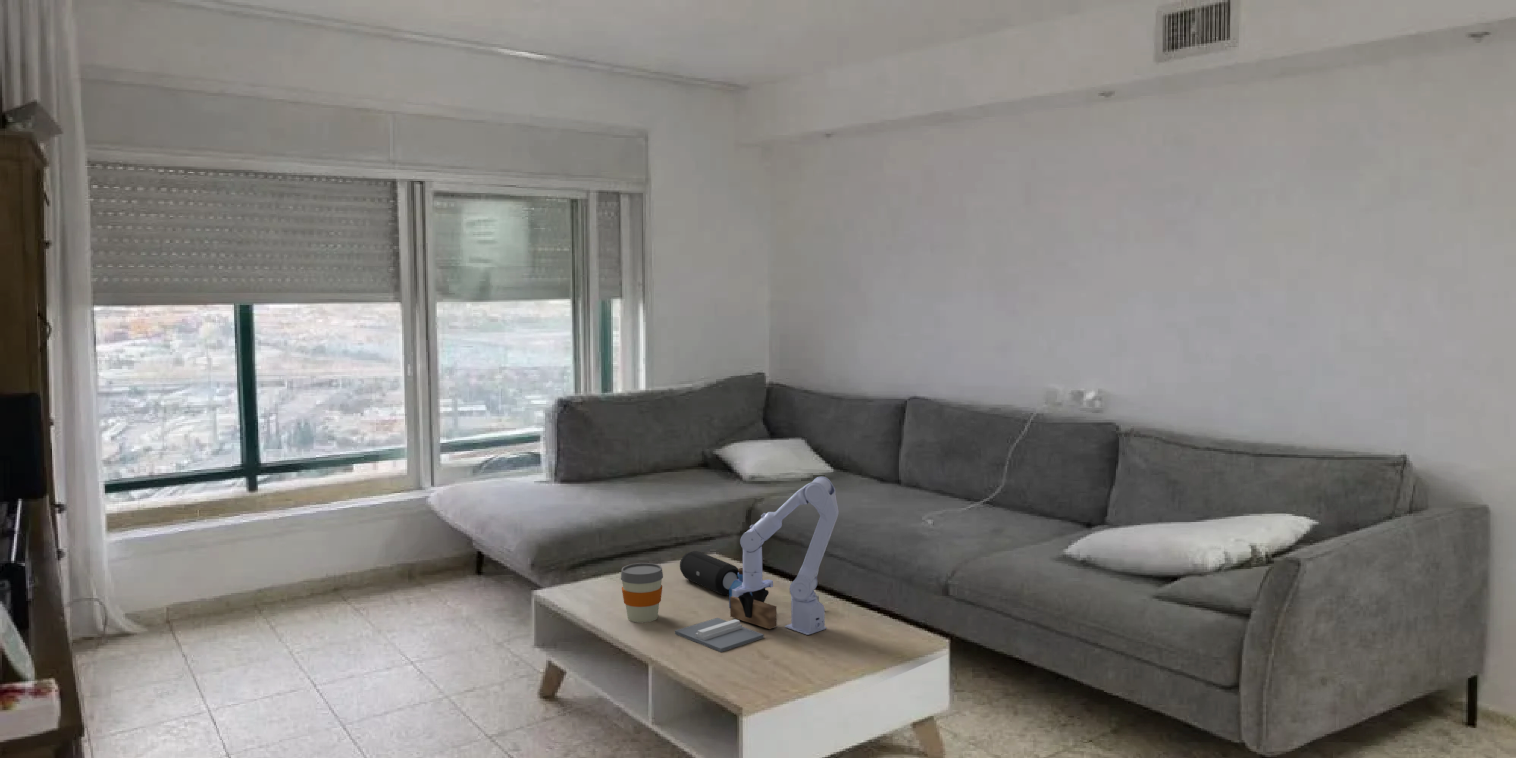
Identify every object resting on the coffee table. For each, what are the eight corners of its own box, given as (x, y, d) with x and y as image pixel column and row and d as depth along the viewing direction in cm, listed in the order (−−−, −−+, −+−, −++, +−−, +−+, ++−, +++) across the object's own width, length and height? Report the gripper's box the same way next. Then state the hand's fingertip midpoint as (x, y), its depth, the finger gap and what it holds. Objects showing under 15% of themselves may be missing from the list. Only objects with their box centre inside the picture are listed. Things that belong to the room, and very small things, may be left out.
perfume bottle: (745, 611, 316) (745, 573, 315) (729, 608, 320) (729, 570, 318) (757, 606, 321) (757, 568, 320) (741, 602, 325) (741, 565, 323)
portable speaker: (677, 581, 349) (677, 551, 348) (702, 575, 354) (702, 547, 353) (719, 600, 328) (719, 569, 327) (745, 594, 334) (745, 563, 333)
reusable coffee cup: (656, 625, 304) (655, 575, 303) (615, 623, 307) (614, 573, 305) (668, 612, 316) (668, 563, 315) (629, 609, 319) (628, 561, 317)
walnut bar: (776, 626, 301) (776, 606, 300) (769, 628, 299) (769, 608, 298) (737, 614, 312) (737, 594, 311) (730, 616, 310) (730, 596, 309)
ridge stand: (763, 637, 293) (763, 627, 293) (720, 652, 282) (720, 641, 282) (717, 620, 308) (717, 611, 308) (674, 633, 297) (674, 623, 297)
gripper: (761, 562, 312) (761, 606, 313) (724, 572, 302) (725, 618, 303) (777, 567, 306) (778, 612, 308) (741, 577, 297) (741, 623, 298)
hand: (753, 615), depth 305 cm, fingers closed on walnut bar, 3 cm apart
